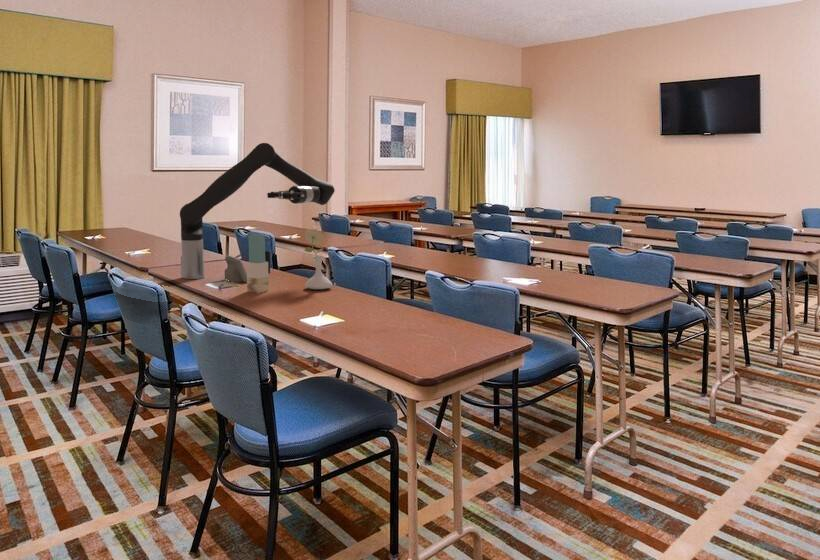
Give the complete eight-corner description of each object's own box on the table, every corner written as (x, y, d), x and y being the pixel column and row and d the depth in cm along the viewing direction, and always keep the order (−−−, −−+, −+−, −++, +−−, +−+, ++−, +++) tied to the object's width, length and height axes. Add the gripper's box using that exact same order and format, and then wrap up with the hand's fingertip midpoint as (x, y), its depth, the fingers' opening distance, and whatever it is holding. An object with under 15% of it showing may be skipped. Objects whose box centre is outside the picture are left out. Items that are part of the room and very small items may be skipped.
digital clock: (249, 283, 284) (248, 258, 282) (228, 284, 281) (227, 259, 279) (243, 277, 299) (243, 254, 297) (223, 278, 295) (222, 254, 294)
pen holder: (268, 275, 305) (267, 253, 303) (248, 274, 305) (247, 253, 303) (272, 272, 314) (272, 251, 312) (253, 271, 314) (252, 250, 313)
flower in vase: (337, 288, 275) (337, 228, 271) (320, 292, 265) (320, 230, 261) (313, 285, 281) (312, 226, 277) (296, 289, 272) (294, 228, 268)
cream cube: (246, 277, 264) (246, 262, 263) (257, 275, 269) (256, 260, 268) (258, 278, 261) (257, 263, 260) (268, 276, 266) (268, 261, 265)
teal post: (249, 262, 263) (248, 235, 261) (256, 261, 267) (256, 234, 265) (257, 263, 261) (256, 235, 259) (265, 261, 265) (264, 234, 263)
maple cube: (247, 291, 265) (246, 277, 264) (257, 289, 270) (257, 275, 269) (258, 293, 262) (258, 278, 261) (268, 291, 267) (268, 276, 266)
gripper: (288, 185, 289) (262, 186, 275) (313, 186, 282) (288, 187, 268) (288, 202, 290) (263, 204, 277) (313, 203, 283) (289, 205, 269)
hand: (275, 195), depth 272 cm, fingers open, 8 cm apart
